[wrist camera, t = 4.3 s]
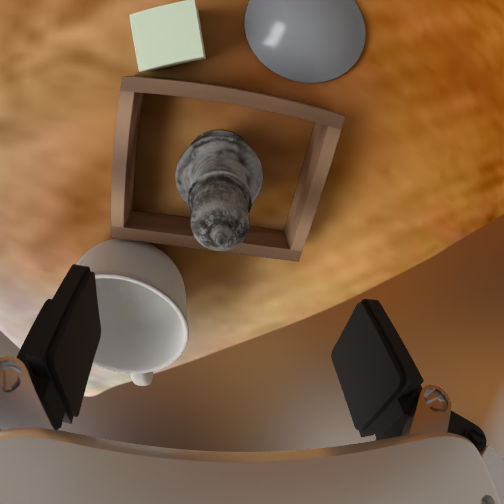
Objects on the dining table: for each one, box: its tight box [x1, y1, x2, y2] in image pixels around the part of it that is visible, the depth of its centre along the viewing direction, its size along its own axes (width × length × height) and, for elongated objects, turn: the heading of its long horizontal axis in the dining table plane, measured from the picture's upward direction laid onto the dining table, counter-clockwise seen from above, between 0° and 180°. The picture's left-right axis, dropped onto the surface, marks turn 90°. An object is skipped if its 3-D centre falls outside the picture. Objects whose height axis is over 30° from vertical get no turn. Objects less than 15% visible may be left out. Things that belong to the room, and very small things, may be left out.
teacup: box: [76, 238, 189, 386], centre depth 26 cm, size 14×11×8 cm
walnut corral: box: [111, 76, 345, 262], centre depth 22 cm, size 12×15×3 cm
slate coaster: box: [244, 0, 366, 83], centre depth 18 cm, size 9×9×1 cm
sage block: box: [129, 0, 206, 72], centre depth 16 cm, size 4×4×4 cm
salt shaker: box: [175, 130, 263, 251], centre depth 19 cm, size 6×6×12 cm
